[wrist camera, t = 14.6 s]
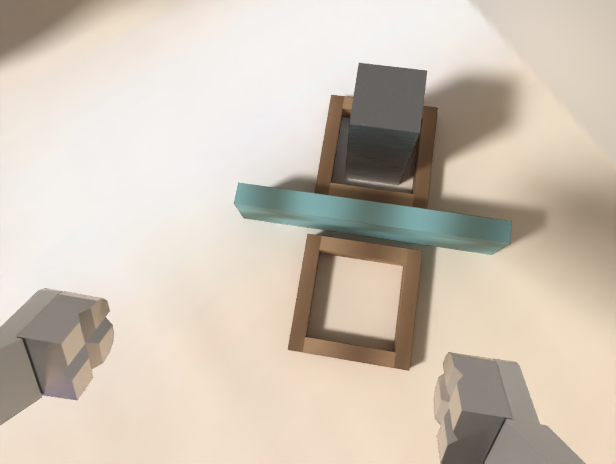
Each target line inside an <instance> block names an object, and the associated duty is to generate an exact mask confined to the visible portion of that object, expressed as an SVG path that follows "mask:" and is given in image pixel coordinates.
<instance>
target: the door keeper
mask: <svg viewBox="0 0 616 464" xmlns="http://www.w3.org/2000/svg"><path fill="white" fill-rule="evenodd" d="M352 104H353V97H345V96H337V95H331V100H330V105H329V111H328V117H327V123H326V129H325V135H324V141H323V146H322V152H321V158H320V164H319V170H318V176H317V182H316V187H315V193H308V192H301V191H294V190H287V189H280V188H273V187H266V186H259V185H252V184H244V183H238V187H237V191H236V196H235V201H234V205H235V206H236V207H237V209H238V210H239V212H240V213H241V215H242V216H243V218H247V219H253V220H260V221H267V222H274V223H280V224H287V225H294V226H301V227H307V228H314V229H321V230H328V231H335V232H341V233H348V234H355V235H362V236H368V237H375V238H382V239H389V240H395V241H402V242H409V243H416V244H422V245H429V246H436V247H443V248H450V249H456V250H463V251H470V252H477V253H483V254H490V255H492V254H493V253H495V252H497V251H499V250H500V249H502V248H504V247H505V246H507V245H509V244H510V238H511V222H512V221H507V220H500V219H493V218H486V217H479V216H472V215H464V214H457V213H450V212H443V211H436V210H429V209H427V203H428V193H429V184H430V175H431V166H432V156H433V147H434V138H435V129H436V119H437V110H438V108H436V107H428V106H423V111H422V119H421V128H420V134H419V137H418V145H417V154H416V162H415V171H414V179H413V188H412V194H409V193H402V192H395V191H387V190H380V189H373V188H366V187H359V186H351V185H344V184H337V183H331V181H332V175H333V169H334V163H335V157H336V151H337V144H338V138H339V132H340V126H341V120H342V116H345V117H351V110H352ZM320 253H322V254H329V255H335V256H342V257H349V258H355V259H362V260H368V261H375V262H381V263H388V264H395V265H401V266H403V273H402V282H401V290H400V299H399V307H398V316H397V324H396V333H395V341H394V350H393V352H391V351H385V350H379V349H373V348H367V347H362V346H356V345H350V344H344V343H338V342H332V341H326V340H320V339H314V338H308V337H306V335H307V329H308V323H309V317H310V311H311V304H312V298H313V292H314V286H315V280H316V274H317V267H318V261H319V255H320ZM421 258H422V251H420V250H413V249H407V248H400V247H393V246H387V245H380V244H373V243H366V242H360V241H353V240H346V239H340V238H333V237H326V236H319V235H313V234H307V240H306V246H305V252H304V258H303V264H302V269H301V275H300V281H299V287H298V293H297V299H296V305H295V310H294V316H293V322H292V328H291V334H290V340H289V346H288V350H292V351H298V352H304V353H310V354H315V355H321V356H327V357H333V358H339V359H344V360H350V361H356V362H362V363H368V364H373V365H379V366H385V367H391V368H397V369H402V370H408V371H409V369H410V360H411V351H412V341H413V332H414V323H415V314H416V304H417V295H418V286H419V277H420V267H421Z"/></svg>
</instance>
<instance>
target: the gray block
mask: <svg viewBox="0 0 616 464" xmlns="http://www.w3.org/2000/svg"><path fill="white" fill-rule="evenodd" d="M426 76H427V71H425V70H417V69H408V68H399V67H390V66H382V65H373V64H364V63H359V66H358V72H357V78H356V85H355V91H354V97H353V104H352V110H351V117H350V123H349V134H348V147H347V160H346V172H345V178H351V179H358V180H365V181H373V182H380V183H387V184H395V185H399V183H400V180H401V178H402V175H403V173H404V170H405V168H406V166H407V163H408V161H409V158H410V156H411V153H412V151H413V148H414V146H415V144H416V141H417V139H418V136H419V134H420V128H421V119H422V111H423V102H424V94H425V85H426Z"/></svg>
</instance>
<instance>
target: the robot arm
mask: <svg viewBox="0 0 616 464" xmlns="http://www.w3.org/2000/svg"><path fill="white" fill-rule="evenodd" d="M109 311H110V310H109V306H108V302H107V300H105V299H103V298H99V297H93V296H88V295H82V294H77V293H72V292H66V291H64V292H63V291H58V290H53V289H47V288H44V289H41V290H38V291H37V292H36V293H35V294H34V295H33V296H32V297H31V298H30V299H29V300H28V301H27V302H26V303H25V304H24V305H23V306H22V307H21V308H20V309H19V310H18V311H17V312H16V313H15V314H14V315H12V316H11V317H10V318H9V319H8V320H7V321H6V322H5V323H4V324H3V325H2V326H1V327H0V425H2V424H3V423H5V422H6V421H7V420H9V419H10V418H12V417H13V416H15V415H16V414H18V413H19V412H21V411H22V410H24V409H25V408H27V407H28V406H30V405H31V404H33V403H34V402H36V401H37V400H39V399H40V398H42V395H44V396H51V397H58V398H65V399H72V400H78V399H79V397H80V396H81V394H82V393H83V392H84V390H85V389H86V387H87V386H88V384H89V383H90V381H91V380H92V378H93V373H92V369H93V368H95V367H97V366H98V365H100V364H102V363H103V362H104V361H105V359H106V358H107V356H108V355H109V353H110V350H111V347H112V344H113V339H114V330H113V325H112V324H111V323H110V322H109V320H108V319H107V318H106V315H107V314H108V313H109ZM443 368H444V374H443V375H441V376H439V377H438V380H437V383H436V387H435V393H434V415H435V419H436V420H437V422H438V423H439V424H440V425H441V426H440V429H439V432H438V434H437V441H438V449H439V457H440V464H585V463H584V462H583V461H582V460H581V459H580V458H579V457H578V456H577V455H576V454H575V453H574V452H573V451H572V450H571V449H570V448H569V447H568V446H567V445H566V444H565V443H564V442H563V441H562V440H561V439H560V438H559V437H558V436H557V435H556V434H555V433H554V432H553V431H552V430H551V429H550V428H549V427H548V426H546V425H541V424H540V423H539V420H538V417H537V414H536V411H535V408H534V405H533V403H532V400H531V397H530V394H529V391H528V388H527V385H526V382H525V380H524V377H523V374H522V371H521V368H520V366H519V364H518V363H517V362H513V361H506V360H499V359H491V358H485V357H478V356H471V355H464V354H457V353H451V352H448V354H447V355H446V357H445V359H444V362H443Z"/></svg>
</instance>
